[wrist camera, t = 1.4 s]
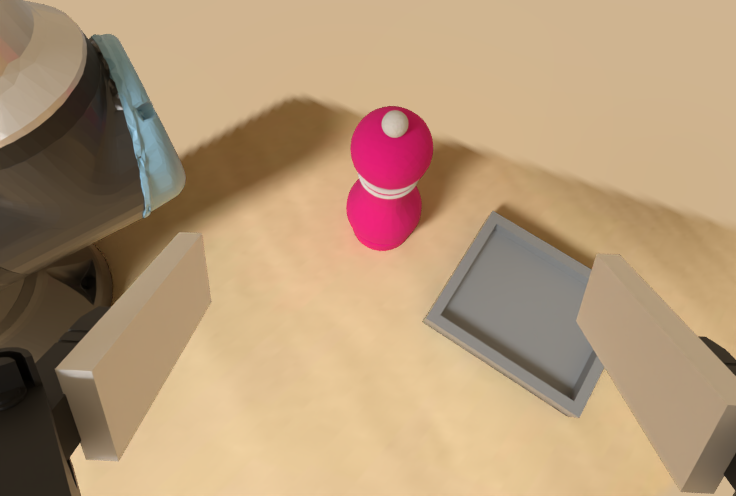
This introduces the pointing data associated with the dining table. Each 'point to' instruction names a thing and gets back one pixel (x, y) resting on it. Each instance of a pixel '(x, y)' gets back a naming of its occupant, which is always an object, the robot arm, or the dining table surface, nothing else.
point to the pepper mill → (388, 176)
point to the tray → (521, 314)
